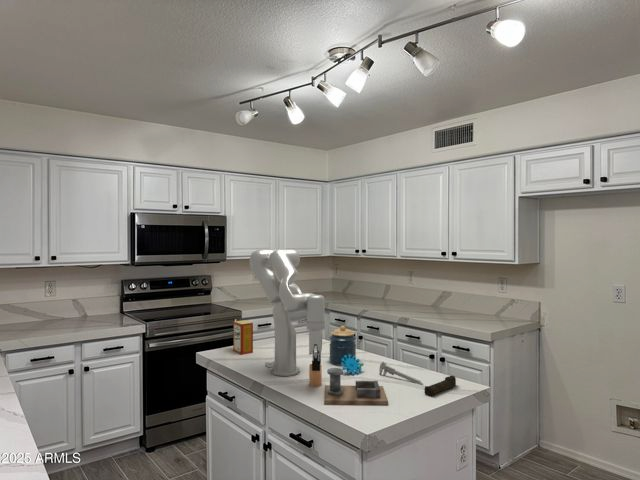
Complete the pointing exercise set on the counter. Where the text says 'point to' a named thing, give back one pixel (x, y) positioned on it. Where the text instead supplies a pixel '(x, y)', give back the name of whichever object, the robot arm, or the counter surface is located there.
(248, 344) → the baking soda box
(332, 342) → the canister
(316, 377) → the tan oval solid
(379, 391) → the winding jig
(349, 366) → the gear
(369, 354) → the counter surface
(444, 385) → the hand tool
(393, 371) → the caliper
